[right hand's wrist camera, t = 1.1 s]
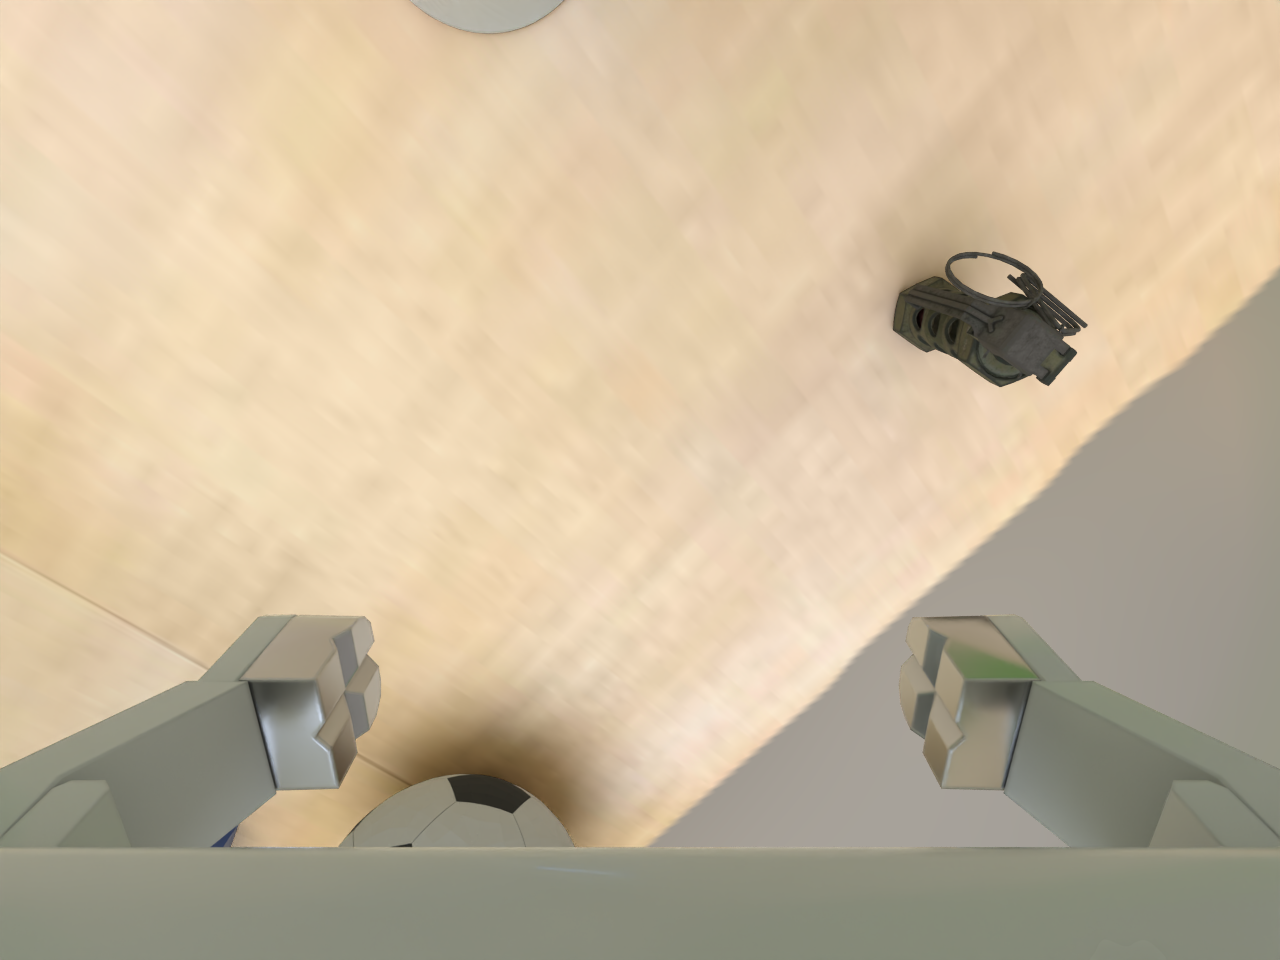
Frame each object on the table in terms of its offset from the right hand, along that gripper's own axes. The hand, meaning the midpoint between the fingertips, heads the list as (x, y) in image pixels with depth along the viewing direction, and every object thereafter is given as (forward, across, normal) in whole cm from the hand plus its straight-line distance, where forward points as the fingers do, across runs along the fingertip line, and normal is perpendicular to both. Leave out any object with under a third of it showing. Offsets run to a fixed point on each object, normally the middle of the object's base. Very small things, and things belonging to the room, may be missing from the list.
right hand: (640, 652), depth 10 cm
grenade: (+41, -20, 0) cm, 46 cm away
